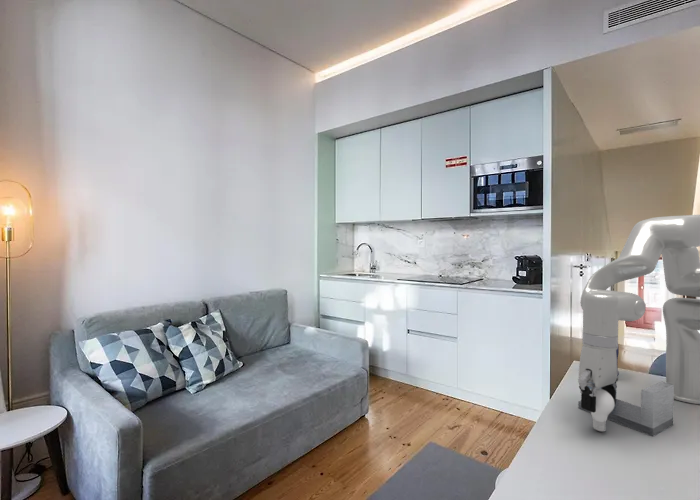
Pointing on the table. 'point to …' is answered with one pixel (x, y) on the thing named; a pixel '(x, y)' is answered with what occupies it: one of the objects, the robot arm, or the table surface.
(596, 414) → the lightbulb
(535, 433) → the table surface
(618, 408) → the vise base
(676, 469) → the table surface
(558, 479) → the table surface
